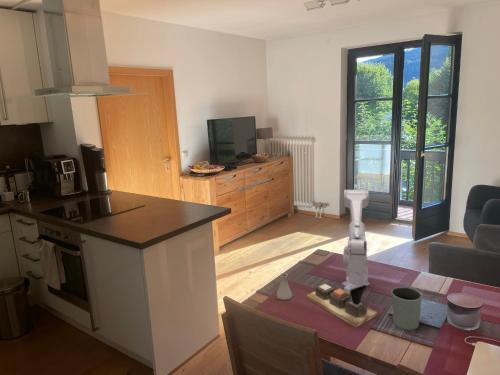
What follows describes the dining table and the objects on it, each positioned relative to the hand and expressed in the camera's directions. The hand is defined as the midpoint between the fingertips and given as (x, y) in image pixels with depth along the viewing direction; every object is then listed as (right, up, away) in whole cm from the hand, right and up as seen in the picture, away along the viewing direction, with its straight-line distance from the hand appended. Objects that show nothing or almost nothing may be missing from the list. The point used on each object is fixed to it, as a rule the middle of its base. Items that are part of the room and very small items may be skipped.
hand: (356, 303), depth 139 cm
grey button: (0, -3, +1) cm, 3 cm away
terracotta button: (-4, 0, +7) cm, 8 cm away
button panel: (-4, -4, +8) cm, 10 cm away
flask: (-25, -3, +18) cm, 31 cm away
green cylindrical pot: (+16, -6, -5) cm, 18 cm away
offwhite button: (-9, 0, +14) cm, 16 cm away
